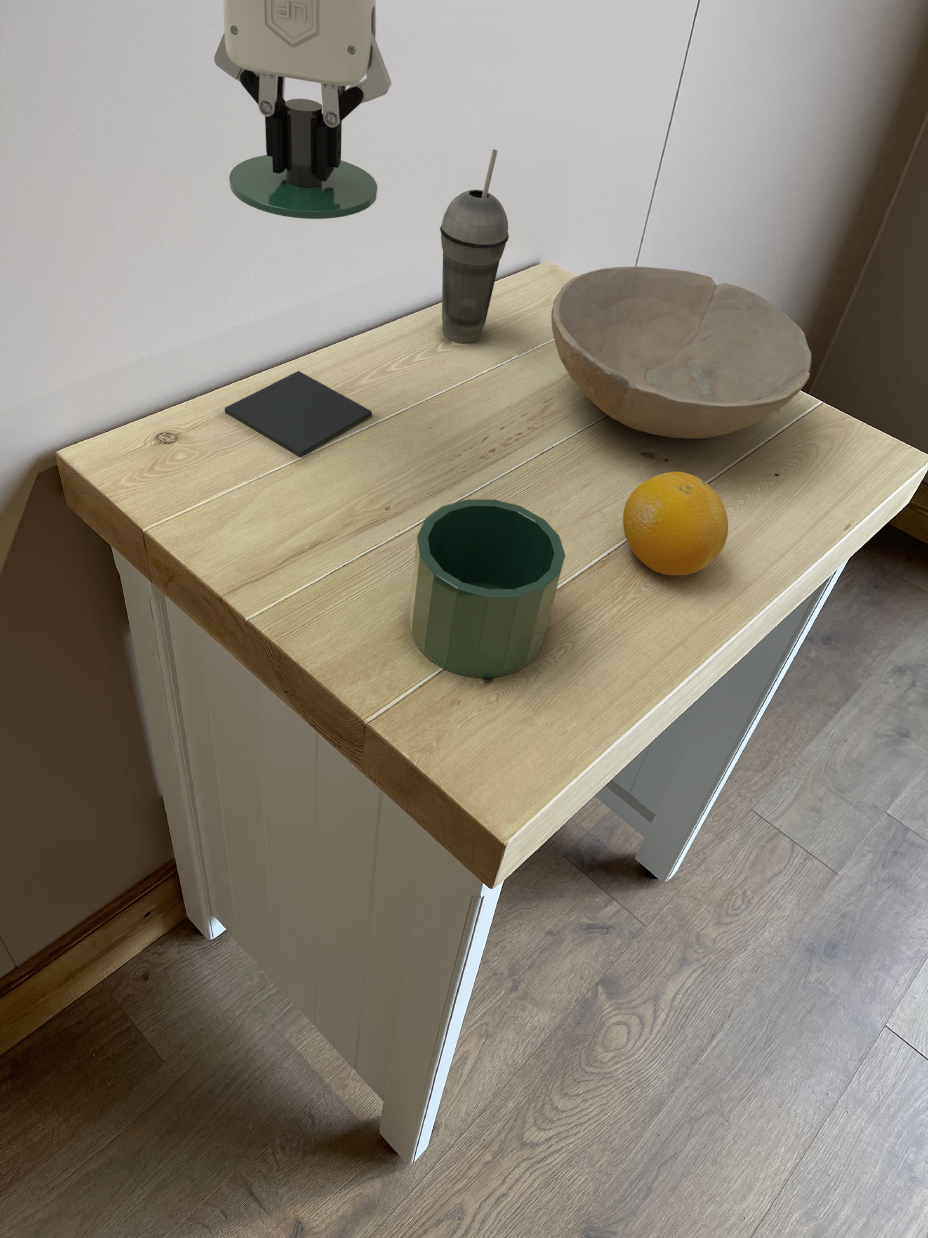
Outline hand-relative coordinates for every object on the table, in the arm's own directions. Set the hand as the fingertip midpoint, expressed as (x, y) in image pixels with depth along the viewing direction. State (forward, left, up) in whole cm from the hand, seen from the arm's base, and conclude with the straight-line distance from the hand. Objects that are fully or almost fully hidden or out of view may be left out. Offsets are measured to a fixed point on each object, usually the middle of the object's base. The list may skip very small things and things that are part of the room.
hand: (304, 168), depth 72 cm
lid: (0, 0, -1) cm, 1 cm away
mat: (-1, 0, -23) cm, 24 cm away
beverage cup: (0, +25, -24) cm, 35 cm away
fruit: (+36, +7, -24) cm, 43 cm away
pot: (+29, -11, -23) cm, 38 cm away
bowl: (+24, +28, -24) cm, 44 cm away
